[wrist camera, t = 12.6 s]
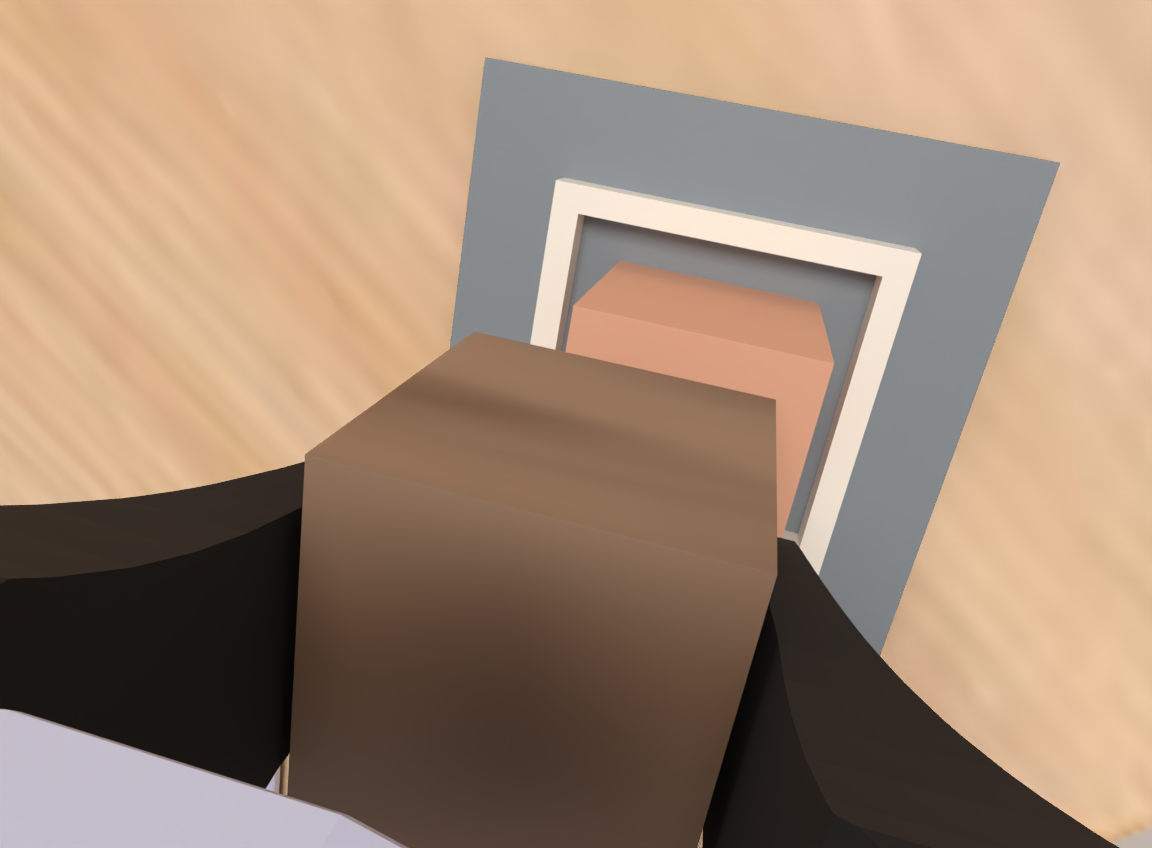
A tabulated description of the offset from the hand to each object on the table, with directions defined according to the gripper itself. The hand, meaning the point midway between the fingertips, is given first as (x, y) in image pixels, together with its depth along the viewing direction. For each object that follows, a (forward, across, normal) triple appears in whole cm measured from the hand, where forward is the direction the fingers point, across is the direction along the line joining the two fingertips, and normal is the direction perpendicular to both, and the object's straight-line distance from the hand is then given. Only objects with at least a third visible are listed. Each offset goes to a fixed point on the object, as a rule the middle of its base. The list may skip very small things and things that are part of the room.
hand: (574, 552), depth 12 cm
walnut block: (+2, 0, 0) cm, 2 cm away
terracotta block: (+9, -1, 0) cm, 9 cm away
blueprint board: (+10, -1, 0) cm, 10 cm away
